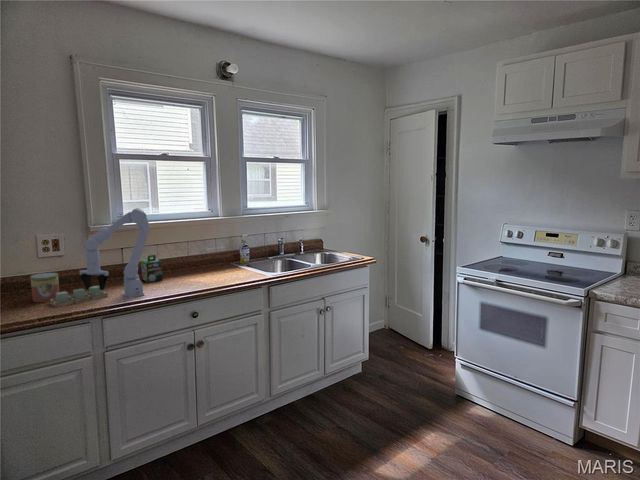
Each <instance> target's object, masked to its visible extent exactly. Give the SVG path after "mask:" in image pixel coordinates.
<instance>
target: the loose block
mask: <svg viewBox="0 0 640 480" xmlns="http://www.w3.org/2000/svg"><path fill="white" fill-rule="evenodd" d="M102 291H103V290H100V285H93V286H92V285H91V287H90V288H89V289H88V292H89V295H91V296H92V295H97V294H102Z"/></svg>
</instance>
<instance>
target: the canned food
mask: <svg viewBox="0 0 640 480" xmlns="http://www.w3.org/2000/svg"><path fill="white" fill-rule="evenodd" d="M30 287H31V295H32V301H33V302H35V303H45V302H50V299H55V298H56V293H59V292H60V282H59V274H58V272H42V273H41V272H40V273H36V274H32V275H30Z"/></svg>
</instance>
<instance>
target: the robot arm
mask: <svg viewBox="0 0 640 480" xmlns="http://www.w3.org/2000/svg"><path fill="white" fill-rule="evenodd" d="M132 222H134V224H136V226H137V227H138V229H139V231H138V234H137V236H136V240H135V243H134V246H133V249H132V252H131V255H130V258H129V260H128V263H127V264H126V265H125V267H124V269H123V288H124V292H122V293H121V295H122V296H125V297H126V298H135V297H140V296H145V295H146V293H144V289H143V288H144V287H143V285H144V284H143V282H142V280H140V275H139V274H138V271H139V263H140V261H141V256H142V254H143V251H144V247H145V244H146V241H147V238H148V235H149V232H150V230H151V226H150V225H151V224H150V223H149V219H148V217H147V214H146V213H145V211H144V210H143V209H142V208H140V207H139V208H137V207H136V208H134V209H132V210H131V211H128V212H126V213H125V214H123V215H122V216H121V217H120V218H118V219H117V220H116V221H114V222H113V223H112V224H111V225H110V226H108V227H101V228H99V229H98V231H97V232H95V233H94V234H91V235H90V237H89V238H88V239H86V240H85V242H84V244H83V247H84V248H85V259H86V261H85V262H86V269H82V270H79V275H80V277H79V279H81V281H82V282H83V283H84V286H85V290H89V288H90V287H92V285H91V280H92V279H91V278H92V276H97V277H96V279H97V281H98V286H100V290H102V291H104V290H105V287H106V283H107V279H108V278H109V276H110V275H109V274H110V272H109V271H107V270H102V269H101V261H100V260H101V259H100V252H99V247H100V245H103V244H104V243H105V242H107V241H108V240H109V239H110V238H112V237H113V233H114V232H115V231H117V230H118V229H119V228H120V227H122V226H123V225H126V224H129V223H132Z"/></svg>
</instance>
